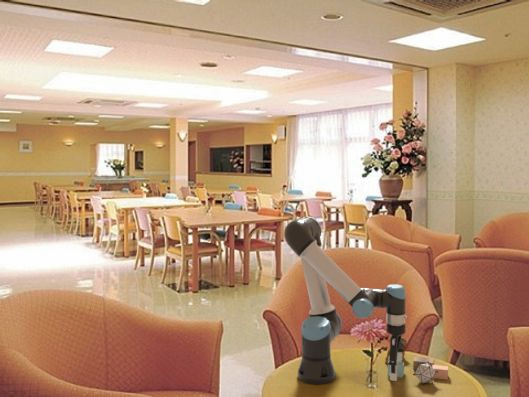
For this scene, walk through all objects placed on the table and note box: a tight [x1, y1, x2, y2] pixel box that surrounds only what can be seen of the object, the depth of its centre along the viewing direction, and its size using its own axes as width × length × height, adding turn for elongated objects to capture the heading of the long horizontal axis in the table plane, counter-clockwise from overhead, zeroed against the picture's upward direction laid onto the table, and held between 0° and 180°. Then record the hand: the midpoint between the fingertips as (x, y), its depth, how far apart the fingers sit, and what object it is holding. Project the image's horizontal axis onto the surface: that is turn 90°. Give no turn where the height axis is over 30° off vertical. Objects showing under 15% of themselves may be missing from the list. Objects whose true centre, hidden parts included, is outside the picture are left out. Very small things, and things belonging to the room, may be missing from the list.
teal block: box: [387, 361, 405, 378], centre depth 216 cm, size 6×4×5 cm, turn 68°
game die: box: [412, 361, 438, 386], centre depth 208 cm, size 9×8×10 cm
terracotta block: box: [432, 364, 449, 380], centre depth 214 cm, size 6×4×4 cm, turn 70°
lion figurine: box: [384, 336, 408, 366], centre depth 230 cm, size 15×5×9 cm, turn 138°
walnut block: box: [412, 356, 435, 371], centre depth 222 cm, size 8×5×4 cm, turn 68°
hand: (396, 373), depth 216 cm, fingers open, 13 cm apart
